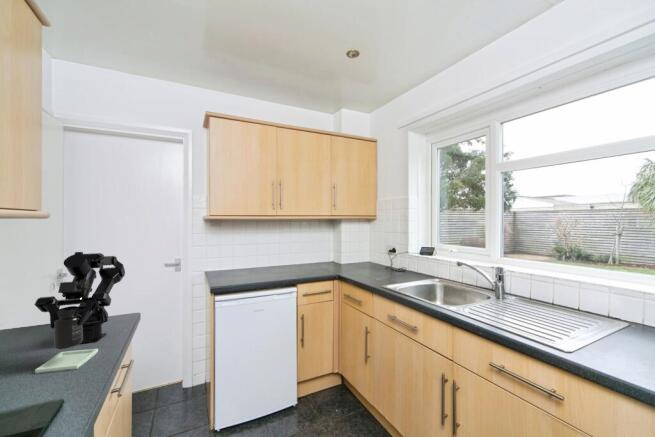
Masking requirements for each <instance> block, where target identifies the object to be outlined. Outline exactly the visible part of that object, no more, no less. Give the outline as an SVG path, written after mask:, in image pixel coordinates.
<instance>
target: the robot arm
mask: <svg viewBox="0 0 655 437" xmlns="http://www.w3.org/2000/svg"><path fill="white" fill-rule="evenodd" d="M63 265H64V267H65V268H66V270H67V271H68V274H70V275H71V276H72V277H73V279H72V281H63V282H60V283H59V287H58V291H57V293H58V294H61V296H62V297H63V299H57V298H56V297H55V296H54V295H53V296H42V297H41V296H40V297H38V298H37V299H36V301H35V303H34V306H35V307H36V308H37V309H38V310H39V311H40V312H41V313H42V312H43V313H49V322H50V323H49V325H50V329H54V321H55V320H56V319H57V318H58V310H59V309H60V307H61V306H75V305H78V306H77V307H78V313H77V314H80V315H82V316H81V318H80V322H79V325H82V324H83V341H82V342H81V343H80V344H85V343H97V342H99V341H100V340H101V339H103V338H104V337H106V336H107V332H105V333H103V324H105V323H107V322H108V321H109V313H108V311H107V310H106V308H105V307H109V306H111V303H112V298H111V297H110V295H109V294H110V292H111V291H112V289H113V287H114V286H115V284H118V283H120V282H121V281H122V280H123V278H124V277H125V275H126V270H125V267H124V264H123V263H122V262H120V261H119V260H118V258H117V256H116V255H115V256H114V255H104V254H103V253H101V252H100V253H99V252H97V253H96V252H95V253H83V251H75V252H74V254H71V255H70V256H68V257H66V258H65V259H64V260H63ZM104 266H113V267H104ZM95 269H99V270H98V274H99V277H100V280H101V281H100V282H99V284H98V286H97V287H96V289H95V290H94V292H93V288H92V287H93V284H94V282H95V280H96V279H97V271H96V270H95ZM91 292H93V293H92V296H90V293H91ZM64 298H65V299H64Z"/></svg>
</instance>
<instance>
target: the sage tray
mask: <svg viewBox="0 0 655 437" xmlns="http://www.w3.org/2000/svg"><path fill="white" fill-rule="evenodd" d="M98 353H99V348H90V349H80V350H69V351H60V352H59V353H58V354H56V355H55V356H52V358H50V359H49V360H47V361H45V362H44V363H43V364H41V365H40V366H39V367H37V368H35V369H34V374H35V375H36V374H45V373H53V372H54V373H56V372H65V371H73V370H76V371H77V370H78V369H79V368H81V367H82V366H83V365H84V364H85V363H86V362H88V361H89V360H90V359H91V358H93V357H94V356H95V355H96V354H98Z"/></svg>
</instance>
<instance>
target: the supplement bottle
mask: <svg viewBox="0 0 655 437" xmlns="http://www.w3.org/2000/svg"><path fill="white" fill-rule="evenodd" d="M77 313H78V306H77V305H76V306H75V305H69V306H65V307H61V308H59V310H58V318H57V319H56V320H55V321H54V328H53V341H54V342H53V343H54V348H55V349H57V350H66V349H69V348H70V349H71V348H74V347H76V346H78V345H80V344H82V343H81V342H82V341H83V324H82V325H79V322H80V318H81V316H82V315H80V314H77Z"/></svg>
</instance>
